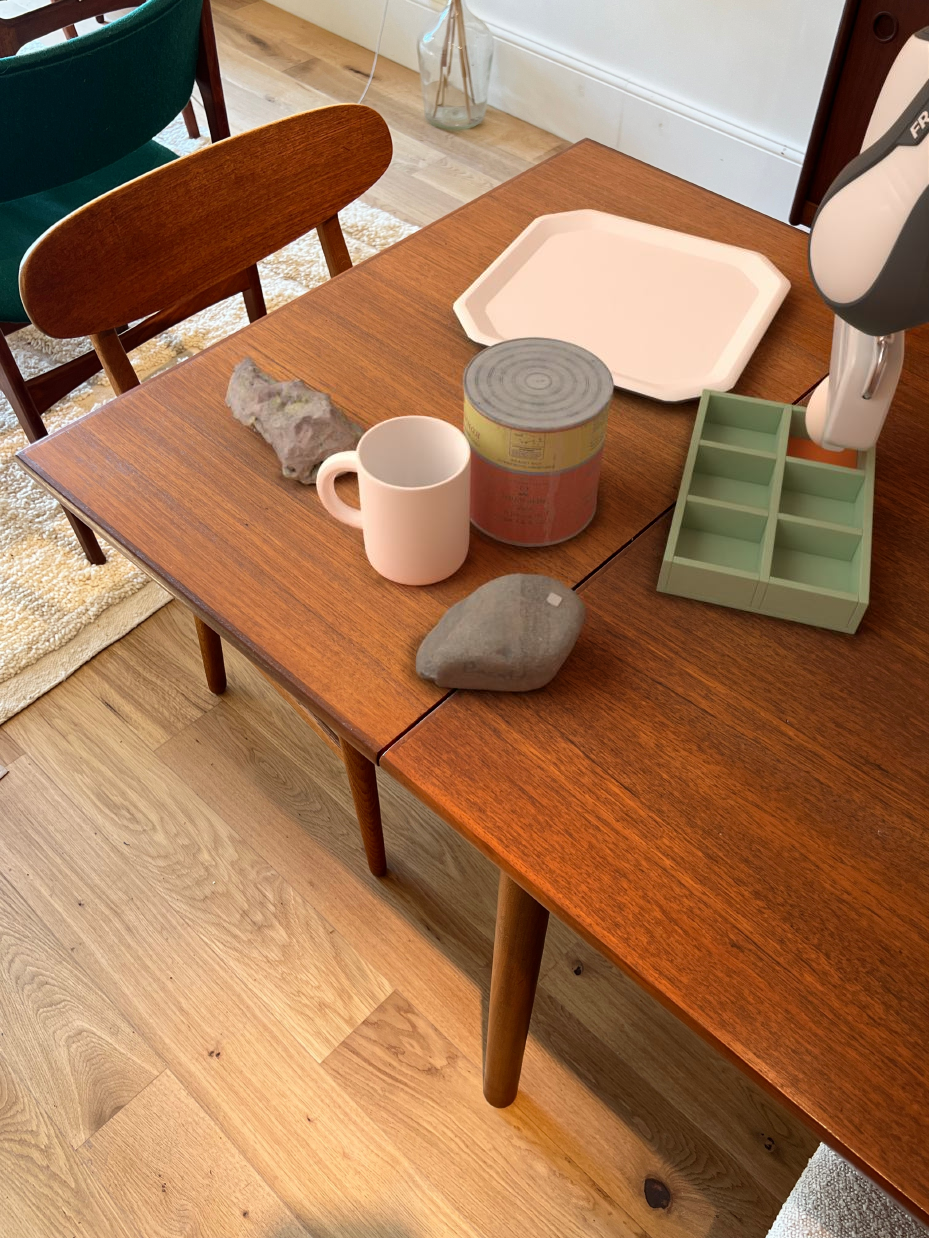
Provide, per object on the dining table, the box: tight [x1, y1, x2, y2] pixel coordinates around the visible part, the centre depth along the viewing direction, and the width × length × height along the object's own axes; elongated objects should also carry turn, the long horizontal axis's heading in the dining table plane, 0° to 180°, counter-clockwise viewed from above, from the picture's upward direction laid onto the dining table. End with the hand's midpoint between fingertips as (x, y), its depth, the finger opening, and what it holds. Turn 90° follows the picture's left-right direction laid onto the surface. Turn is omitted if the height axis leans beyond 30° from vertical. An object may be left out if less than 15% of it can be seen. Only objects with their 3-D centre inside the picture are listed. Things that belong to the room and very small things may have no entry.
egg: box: [805, 375, 829, 448], centre depth 81 cm, size 5×5×7 cm
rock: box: [224, 355, 367, 486], centre depth 85 cm, size 16×7×7 cm, turn 49°
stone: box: [415, 572, 586, 692], centre depth 70 cm, size 9×9×10 cm
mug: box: [315, 415, 471, 586], centre depth 76 cm, size 12×8×10 cm
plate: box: [452, 208, 792, 405], centre depth 101 cm, size 29×29×2 cm
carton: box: [655, 389, 877, 635], centre depth 81 cm, size 15×22×4 cm
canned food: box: [462, 337, 615, 548], centre depth 79 cm, size 11×11×12 cm
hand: (834, 422), depth 82 cm, fingers closed on egg, 4 cm apart
